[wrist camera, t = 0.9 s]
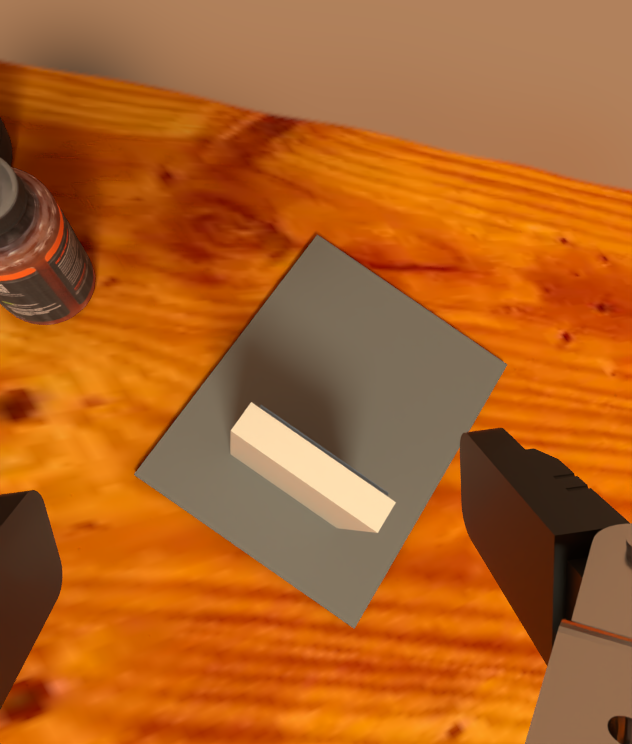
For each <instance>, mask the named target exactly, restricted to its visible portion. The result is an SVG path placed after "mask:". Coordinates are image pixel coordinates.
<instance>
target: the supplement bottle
mask: <svg viewBox="0 0 632 744" xmlns="http://www.w3.org/2000/svg"><path fill="white" fill-rule="evenodd" d="M94 286H95V273H94V269H93V266H92V264H91V261H90V259H89V257H88V255H87V253H86V252H85V250H84V248H83V246H82V245H81V243H80V242H79V240H78V238H77V236H76V234H75V233H74V231H73V229H72V227H71V226H70V224H69V222H68V221H67V219H66V217H65V216H64V214H63V212H62V210H61V208H60V207H59V205H58V204H57V202H56V200H55V199H54V197H53V196H52V194H51V193H50V191H49V190H48V189H47V188H46V187H45V186H44V185H43V184H42V183H41V182H40V181H39V180H38V179H36V178H35V177H34V176H32V175H30V174H28V173H26V172H24V171H22V170H18V169H16V168H12V167H11V166H10V165H9V164H8V163H7V162H6V161H4V160H3V159H2V158H0V304H1V305H2V306H3V307H5V308H6V309H7V310H8V311H9V312H11V313H12V314H13V315H15V316H16V317H17V318H19V319H22V320H24V321H26V322H29V323H33V324H39V325H50V324H56V323H60V322H63V321H66V320H68V319H70V318H72V317H73V316H75V315H76V314H77V313H79V312H80V311H81V310H82V309H83V308H84V307H85V306H86V305H87V304H88V302H89V300H90V298H91V296H92V294H93V291H94Z"/></svg>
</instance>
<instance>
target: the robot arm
mask: <svg viewBox="0 0 632 744" xmlns="http://www.w3.org/2000/svg"><path fill="white" fill-rule="evenodd" d="M460 467H461V498H462V512H463V518H464V522H465V526H466V529H467V532H468V534H469V537H470V539H471V540H472V542H473V544H474V545H475V547H476V549H477V550H478V552H479V554H480V555H481V557H482V559H483V560H484V562H485V563H486V565H487V567H488V568H489V570H490V572H491V573H492V575H493V577H494V578H495V580H496V582H497V583H498V585H499V587H500V588H501V590H502V592H503V593H504V595H505V597H506V598H507V600H508V602H509V603H510V605H511V607H512V608H513V610H514V611H515V613H516V615H517V616H518V618H519V620H520V621H521V623H522V625H523V626H524V628H525V630H526V631H527V633H528V635H529V636H530V638H531V640H532V641H533V643H534V645H535V646H536V648H537V650H538V651H539V653H540V655H541V656H542V658H543V659H544V661H545V663H546V664H547V670H546V673H545V677H544V680H543V684H542V687H541V690H540V694H539V697H538V701H537V704H536V708H535V711H534V715H533V718H532V722H531V725H530V728H529V732H528V735H527V739H526V742H525V744H632V524H630V523H629V522H628V521H627V520H626V519H625V518H624V517H623V516H621V515H620V514H619V513H618V512H617V511H616V510H615V509H614V508H612V507H611V506H610V505H609V504H608V503H607V502H606V501H605V500H603V499H602V498H601V497H600V496H599V495H598V494H597V493H596V492H594V491H593V490H592V489H591V488H590V489H588V486H587V484H585V483H584V482H583V481H582V480H581V479H580V478H579V477H578V476H574V473H573V472H572V471H571V470H570V469H569V468H568V467H566V466H565V465H564V464H563V463H562V462H561V461H560V460H559V459H557V458H554V457H552V456H550V455H548V454H545V453H543V452H541V451H538V450H536V449H527V450H525V449H524V448H523V447H522V446H521V445H520V444H519V443H518V442H517V441H516V440H515V439H514V438H513V437H512V436H511V435H510V434H509V433H508V432H507V431H505V430H504V429H503V428H495V429H488V430H481V431H473V432H466V433H463V434H462V435H461V439H460ZM61 585H62V565H61V560H60V557H59V553H58V550H57V546H56V542H55V539H54V535H53V532H52V528H51V525H50V521H49V518H48V514H47V511H46V507H45V504H44V501H43V499H42V497H41V495H40V494H39V493H38V492H37V491H35V490H31V491H24V492H17V493H9V494H2V495H0V709H1V707H2V705H3V703H4V701H5V699H6V697H7V696H8V694H9V692H10V690H11V688H12V686H13V684H14V682H15V680H16V678H17V676H18V674H19V672H20V670H21V668H22V666H23V665H24V663H25V661H26V659H27V657H28V655H29V653H30V651H31V649H32V647H33V645H34V643H35V641H36V639H37V637H38V635H39V634H40V632H41V630H42V628H43V626H44V624H45V622H46V620H47V618H48V616H49V614H50V612H51V610H52V608H53V606H54V604H55V602H56V601H57V599H58V596H59V594H60V590H61Z"/></svg>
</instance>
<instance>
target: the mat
mask: <svg viewBox="0 0 632 744" xmlns="http://www.w3.org/2000/svg"><path fill="white" fill-rule="evenodd" d="M506 366H507V364H506V363H504V362H503V361H501V360H500V359H498V358H497V357H496V356H494V355H493V354H491V353H490V352H488V351H487V350H485V349H484V348H482V347H481V346H479V345H478V344H477V343H475V342H474V341H472V340H471V339H469V338H468V337H466V336H465V335H463V334H462V333H460V332H459V331H458V330H456V329H455V328H453V327H452V326H450V325H449V324H447V323H446V322H444V321H443V320H441V319H440V318H439V317H437V316H436V315H434V314H433V313H431V312H430V311H428V310H427V309H425V308H424V307H422V306H421V305H420V304H418V303H417V302H415V301H414V300H412V299H411V298H409V297H408V296H406V295H405V294H403V293H402V292H401V291H399V290H398V289H396V288H395V287H393V286H392V285H390V284H389V283H387V282H386V281H384V280H383V279H382V278H380V277H379V276H377V275H376V274H374V273H373V272H371V271H370V270H368V269H367V268H365V267H364V266H363V265H361V264H360V263H358V262H357V261H355V260H354V259H352V258H351V257H349V256H348V255H346V254H345V253H344V252H342V251H341V250H339V249H338V248H336V247H335V246H333V245H332V244H330V243H329V242H327V241H326V240H325V239H323V238H322V237H320V236H319V235H317V236H316V237H315V238H314V239H313V241H312V242H311V243H310V245H309V246H308V247H307V249H306V250H305V251H304V253H303V254H302V255H301V256H300V258H299V259H298V260H297V262H296V263H295V264H294V266H293V267H292V268H291V270H290V271H289V272H288V273H287V275H286V276H285V277H284V279H283V280H282V281H281V283H280V284H279V285H278V287H277V288H276V289H275V290H274V292H273V293H272V294H271V296H270V297H269V298H268V300H267V301H266V302H265V304H264V305H263V306H262V307H261V309H260V310H259V311H258V313H257V314H256V315H255V317H254V318H253V319H252V321H251V322H250V323H249V325H248V326H247V327H246V328H245V330H244V331H243V332H242V334H241V335H240V336H239V338H238V339H237V340H236V342H235V343H234V344H233V345H232V347H231V348H230V349H229V351H228V352H227V353H226V355H225V356H224V357H223V359H222V360H221V361H220V362H219V364H218V365H217V366H216V368H215V369H214V370H213V372H212V373H211V374H210V376H209V377H208V378H207V379H206V381H205V382H204V383H203V385H202V386H201V387H200V389H199V390H198V391H197V393H196V394H195V395H194V396H193V398H192V399H191V400H190V402H189V403H188V404H187V406H186V407H185V408H184V410H183V411H182V412H181V413H180V415H179V416H178V417H177V419H176V420H175V421H174V423H173V424H172V425H171V427H170V428H169V429H168V431H167V432H166V433H165V434H164V436H163V437H162V438H161V440H160V441H159V442H158V444H157V445H156V446H155V448H154V449H153V450H152V451H151V453H150V454H149V455H148V457H147V458H146V459H145V461H144V462H143V463H142V465H141V466H140V467H139V468H138V470H137V471H136V472H135V474H134V475H135V476H137V477H138V478H140V479H141V480H142V481H144V482H145V483H147V484H148V485H150V486H151V487H152V488H154V489H155V490H157V491H158V492H160V493H161V494H162V495H164V496H165V497H167V498H168V499H170V500H171V501H172V502H174V503H175V504H177V505H178V506H180V507H181V508H182V509H184V510H185V511H187V512H188V513H190V514H191V515H192V516H194V517H195V518H197V519H198V520H200V521H201V522H202V523H204V524H205V525H207V526H208V527H210V528H211V529H212V530H214V531H215V532H217V533H218V534H220V535H221V536H223V537H224V538H225V539H227V540H228V541H230V542H231V543H233V544H234V545H235V546H237V547H238V548H240V549H241V550H243V551H244V552H245V553H247V554H248V555H250V556H251V557H253V558H254V559H255V560H257V561H258V562H260V563H261V564H263V565H264V566H265V567H267V568H268V569H270V570H271V571H273V572H274V573H275V574H277V575H278V576H280V577H281V578H283V579H284V580H285V581H287V582H288V583H290V584H291V585H293V586H294V587H295V588H297V589H298V590H300V591H301V592H303V593H304V594H305V595H307V596H308V597H310V598H311V599H313V600H314V601H315V602H317V603H318V604H320V605H321V606H323V607H324V608H325V609H327V610H328V611H330V612H331V613H333V614H334V615H335V616H337V617H338V618H340V619H341V620H343V621H344V622H345V623H347V624H348V625H350V626H351V627H353V628H354V629H355V627H356V625H357V623H358V622H359V620H360V618H361V616H362V615H363V613H364V611H365V610H366V608H367V606H368V604H369V603H370V601H371V599H372V597H373V596H374V594H375V592H376V591H377V589H378V587H379V585H380V584H381V582H382V580H383V578H384V577H385V575H386V573H387V572H388V570H389V568H390V566H391V565H392V563H393V561H394V559H395V558H396V556H397V554H398V553H399V551H400V549H401V547H402V546H403V544H404V542H405V540H406V539H407V537H408V535H409V534H410V532H411V530H412V528H413V527H414V525H415V523H416V521H417V520H418V518H419V516H420V515H421V513H422V511H423V509H424V508H425V506H426V504H427V503H428V501H429V499H430V497H431V496H432V494H433V492H434V490H435V489H436V487H437V485H438V484H439V482H440V480H441V478H442V477H443V475H444V473H445V471H446V470H447V468H448V466H449V465H450V463H451V461H452V459H453V458H454V456H455V454H456V452H457V451H458V449H459V447H460V439H461V435H462V434H463V433H466V432H469V430H470V428H471V427H472V425H473V423H474V421H475V420H476V418H477V416H478V414H479V413H480V411H481V409H482V408H483V406H484V404H485V402H486V401H487V399H488V397H489V395H490V394H491V392H492V390H493V389H494V387H495V385H496V383H497V382H498V380H499V378H500V376H501V375H502V373H503V371H504V370H505V368H506ZM251 402H252V403H253V404H255V405H256V406H258V407H260V405H262V406H264V407H265V408H267V409H268V410H270V411H271V412H273V413H274V414H275V415H277V416H278V417H280V418H281V419H283V420H284V421H286V422H287V423H288V424H290V425H291V426H293V427H294V428H296V429H297V430H299V431H300V432H301V433H303V434H304V435H306V436H307V437H309V438H310V439H311V440H313V441H314V442H316V443H317V444H319V445H320V446H322V447H323V448H324V449H326V450H327V451H329V452H330V453H332V454H333V455H335V456H336V457H337V458H339V459H340V460H342V461H343V462H345V463H346V464H348V465H349V466H350V467H352V468H353V469H355V470H356V471H358V472H359V473H361V474H362V475H363V476H365V477H366V478H368V479H369V480H371V481H372V482H374V483H375V484H376V485H378V486H379V487H381V488H382V489H384V490H385V491H387V492H388V493H389V494H388V496H387V497H389V498H390V499H392V500H393V501H395V502H396V503H395V505H394V506H393V508H392V510H391V511H390V513H389V515H388V516H387V518H386V520H385V522H384V523H383V525H382V527H381V528H380V530H379V532H378V533H374V532H365V531H357V530H348V529H339V528H336V527H334V526H333V525H332V524H330V523H329V522H327V521H326V520H324V519H323V518H322V517H320V516H319V515H317V514H316V513H314V512H313V511H311V510H310V509H309V508H307V507H306V506H304V505H303V504H301V503H300V502H299V501H297V500H296V499H294V498H293V497H291V496H290V495H288V494H287V493H286V492H284V491H283V490H281V489H280V488H278V487H277V486H276V485H274V484H273V483H271V482H270V481H268V480H267V479H265V478H264V477H263V476H261V475H260V474H258V473H257V472H255V471H254V470H253V469H251V468H250V467H248V466H247V465H245V464H244V463H242V462H241V461H240V460H238V459H237V458H235V457H234V456H232V455H231V454H230V439H231V429H232V428H233V427H234V425H235V424H236V423H237V421H238V420H239V418H240V417H241V416H242V414H243V413H244V412H245V410H246V409H247V407H248V406H249V405H250V403H251Z"/></svg>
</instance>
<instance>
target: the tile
mask: <svg viewBox="0 0 632 744" xmlns="http://www.w3.org/2000/svg"><path fill="white" fill-rule="evenodd" d="M230 454H231V455H232V456H234V457H235V458H237V459H238V460H240V461H241V462H242V463H244V464H245V465H247V466H248V467H250V468H251V469H253V470H254V471H255V472H257V473H258V474H260V475H261V476H263V477H264V478H265V479H267V480H268V481H270V482H271V483H273V484H274V485H276V486H277V487H278V488H280V489H281V490H283V491H284V492H286V493H287V494H288V495H290V496H291V497H293V498H294V499H296V500H297V501H299V502H300V503H301V504H303V505H304V506H306V507H307V508H309V509H310V510H311V511H313V512H314V513H316V514H317V515H319V516H320V517H322V518H323V519H324V520H326V521H327V522H329V523H330V524H332V525H333V526H334V527H336V528H339V529H348V530H357V531H365V532H374V533H378V532H379V530H380V528H381V527H382V525H383V523H384V522H385V520H386V518H387V516H388V515H389V513H390V511H391V510H392V508H393V506H394V505H395V503H396V502H395V501H393V500H392V499H390V498H389V497H387V496H388V494H389V493H388V492H387V491H385V490H384V489H382V488H381V487H379V486H378V485H376V484H375V483H374V482H372V481H371V480H369V479H368V478H366V477H365V476H363V475H362V474H361V473H359V472H358V471H356V470H355V469H353V468H352V467H350V466H349V465H348V464H346V463H345V462H343V461H342V460H340V459H339V458H337V457H336V456H335V455H333V454H332V453H330V452H329V451H327V450H326V449H324V448H323V447H322V446H320V445H319V444H317V443H316V442H314V441H313V440H311V439H310V438H309V437H307V436H306V435H304V434H303V433H301V432H300V431H299V430H297V429H296V428H294V427H293V426H291V425H290V424H288V423H287V422H286V421H284V420H283V419H281V418H280V417H278V416H277V415H275V414H274V413H273V412H271V411H270V410H268V409H267V408H265V407H264V406H262V405H260V407H258V406H256V405H255V404H253V403H252V402H251V403H250V405H249V406H248V407H247V409H246V410H245V412H244V413H243V414H242V416H241V417H240V418H239V420H238V421H237V423H236V424H235V425H234V427H233V428H232V429H231V439H230Z"/></svg>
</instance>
